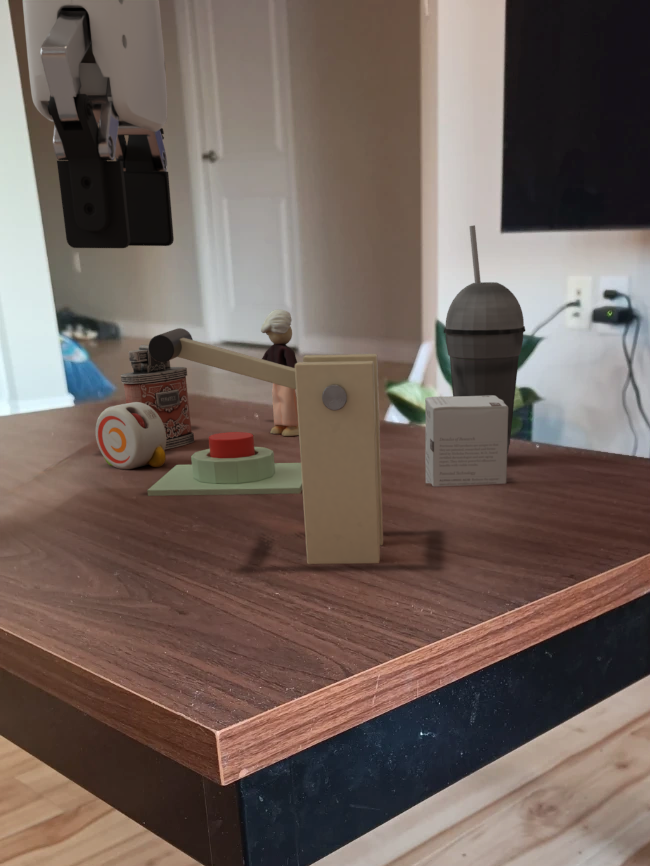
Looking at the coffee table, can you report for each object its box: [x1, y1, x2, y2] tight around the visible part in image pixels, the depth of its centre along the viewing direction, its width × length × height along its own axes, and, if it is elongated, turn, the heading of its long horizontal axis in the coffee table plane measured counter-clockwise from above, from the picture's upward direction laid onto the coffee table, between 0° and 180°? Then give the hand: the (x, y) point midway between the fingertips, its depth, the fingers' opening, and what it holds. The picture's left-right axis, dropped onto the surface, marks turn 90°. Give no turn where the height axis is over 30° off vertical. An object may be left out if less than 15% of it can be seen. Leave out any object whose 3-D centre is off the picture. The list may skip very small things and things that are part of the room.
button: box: [208, 431, 255, 458], centre depth 84 cm, size 4×4×2 cm
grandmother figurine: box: [260, 308, 299, 437], centre depth 111 cm, size 8×4×13 cm, turn 49°
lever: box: [148, 327, 296, 390], centre depth 60 cm, size 12×5×2 cm, turn 88°
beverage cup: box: [443, 224, 526, 455], centre depth 92 cm, size 7×7×20 cm
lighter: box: [120, 344, 195, 450], centre depth 105 cm, size 8×3×10 cm, turn 147°
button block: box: [146, 446, 303, 497], centre depth 85 cm, size 12×10×4 cm
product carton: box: [424, 395, 508, 487], centre depth 83 cm, size 6×6×7 cm
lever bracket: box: [295, 353, 384, 565], centre depth 62 cm, size 11×8×13 cm
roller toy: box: [95, 402, 167, 471], centre depth 97 cm, size 4×6×6 cm
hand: (125, 246), depth 58 cm, fingers open, 9 cm apart
